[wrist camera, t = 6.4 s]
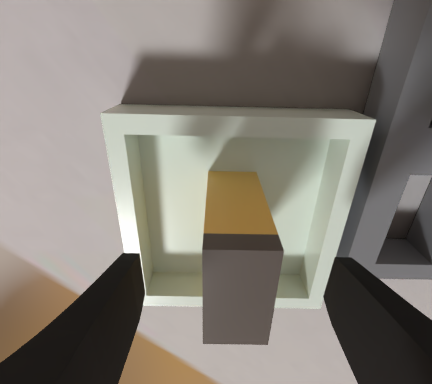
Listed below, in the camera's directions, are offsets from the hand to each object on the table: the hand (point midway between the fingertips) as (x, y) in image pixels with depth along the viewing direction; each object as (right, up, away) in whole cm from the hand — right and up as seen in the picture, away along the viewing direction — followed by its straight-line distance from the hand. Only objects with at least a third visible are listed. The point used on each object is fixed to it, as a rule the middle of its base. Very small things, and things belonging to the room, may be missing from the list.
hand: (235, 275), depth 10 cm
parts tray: (0, +2, +5) cm, 5 cm away
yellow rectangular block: (0, +2, +4) cm, 5 cm away
